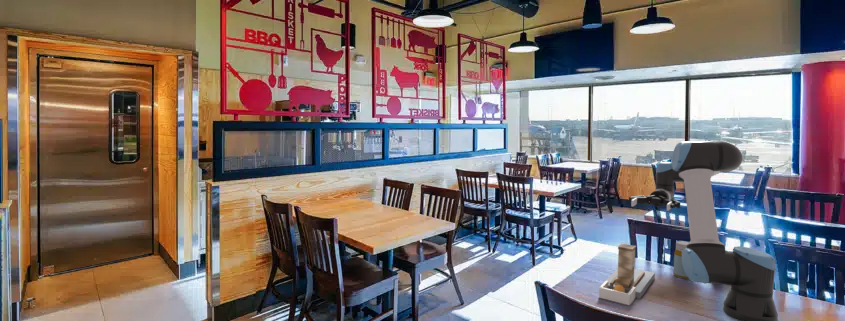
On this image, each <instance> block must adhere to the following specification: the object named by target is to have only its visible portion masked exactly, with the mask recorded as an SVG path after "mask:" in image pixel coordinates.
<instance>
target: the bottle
mask: <svg viewBox="0 0 845 321" xmlns="http://www.w3.org/2000/svg"><path fill="white" fill-rule="evenodd" d="M689 242H690V241H685V240H677V241H676V242H675V250H674V257H673V273H672V274H673V276H675V277H676V278H679V279H683V280H690V279H689V278H688V276H687V275H686V273H685V271H684V268H683V265H682V251H683V250H684V249H686V248H687V244H688V243H689Z"/></svg>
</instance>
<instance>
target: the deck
mask: <svg viewBox="0 0 845 321" xmlns="http://www.w3.org/2000/svg"><path fill="white" fill-rule="evenodd" d="M642 272H645V275H644V276H643V277H642V279H641V280H640V281H639V283H638V284H637V285H636V286H635V287H636V295H635V297H636V298H635V299H638V300H639V299H640V300H641V298H642V297H643V296H644V294H645V293H646V291H647V290H648V288H649V287H650V286H651V284H652V283H653V282H654V280H655V279H656V278H655V276H656V275H655V274H656V273H655V272H654V271H653V272H652V271H649V270H648V271H647V270H642V269H639V268H634V282H635V280H636V279H637V278H638V277H639V276H640V274H641V273H642ZM617 275H618V267H617V268H616V269H615V270H614V271H613V272H612V273H611V274H610V275H609V276H608V277H607V278H606V279H605V280H604V281H603V282H602V283H601V285H602V284H603V283H604V282H605V281H609V284H608V289H612V290H614V287H615V286H616V285H615V283H614V284H613V285H612V286H610V282H611V281H612V280H613V279H614V278H615V277H616V276H617ZM634 282H633V283H634ZM633 283H632V284H633ZM632 284H631V285H632ZM630 287H631V286H630ZM630 287H629V288H627V287H624V289H625V293H628V292H629V291H630Z"/></svg>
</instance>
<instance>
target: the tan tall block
mask: <svg viewBox="0 0 845 321" xmlns="http://www.w3.org/2000/svg"><path fill="white" fill-rule="evenodd" d="M636 248H637V245H633V244H632V245H631V244H629V243H628V244H627V243H621V244H619V245H618V246H617V250H618V255H617V256H618V258H617V268H618V277H617V278H616V279H615V285H621V286H623V287H627V288H629V287H630V286H631V284H632V283H633V282H634V269H635V265H636V264H635V263H636V261H635V260H636Z"/></svg>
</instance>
